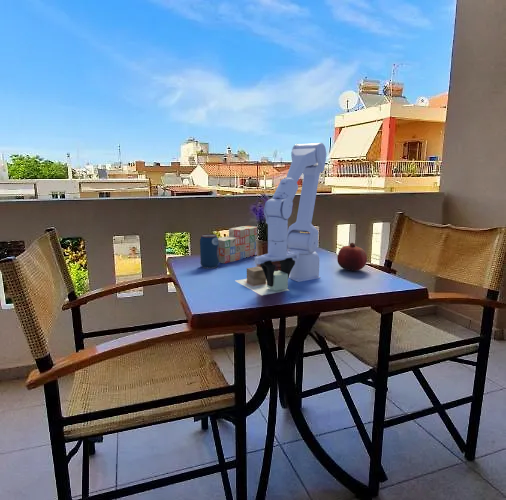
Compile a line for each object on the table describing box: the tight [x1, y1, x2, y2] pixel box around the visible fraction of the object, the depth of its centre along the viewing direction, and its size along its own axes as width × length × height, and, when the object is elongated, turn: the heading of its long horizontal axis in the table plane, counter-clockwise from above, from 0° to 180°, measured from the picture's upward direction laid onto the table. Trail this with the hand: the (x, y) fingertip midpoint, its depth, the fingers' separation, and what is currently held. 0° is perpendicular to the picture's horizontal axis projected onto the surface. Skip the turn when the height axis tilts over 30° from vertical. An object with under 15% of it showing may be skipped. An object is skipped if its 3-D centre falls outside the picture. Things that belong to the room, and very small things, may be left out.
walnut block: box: [246, 266, 266, 285], centre depth 118 cm, size 4×4×4 cm
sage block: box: [267, 269, 289, 291], centre depth 112 cm, size 4×4×4 cm
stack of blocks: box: [217, 225, 258, 264], centre depth 154 cm, size 21×6×12 cm, turn 141°
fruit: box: [336, 242, 368, 272], centre depth 134 cm, size 11×10×10 cm
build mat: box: [235, 278, 290, 296], centre depth 116 cm, size 10×17×1 cm, turn 30°
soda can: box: [199, 233, 220, 269], centre depth 140 cm, size 7×7×12 cm
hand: (277, 284), depth 112 cm, fingers closed on sage block, 4 cm apart
